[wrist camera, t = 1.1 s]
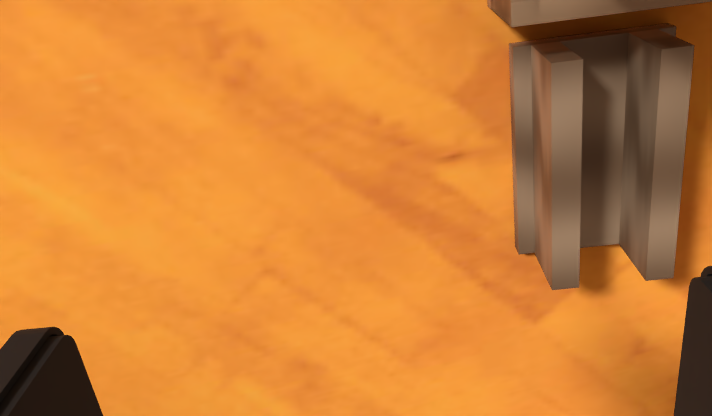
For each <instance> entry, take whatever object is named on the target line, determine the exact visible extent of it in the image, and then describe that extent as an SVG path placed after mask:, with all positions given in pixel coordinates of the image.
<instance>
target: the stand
mask: <svg viewBox="0 0 712 416" xmlns="http://www.w3.org/2000/svg"><path fill="white" fill-rule="evenodd" d="M693 55H694V45H692V44H690V43H688V42H686V41H683V40H681V39H679V38H677V37H676V26H674V25H671V24H669V23H665V24H658V25H650V26H642V27H634V28H626V29H618V30H611V31H603V32H595V33H587V34H579V35H571V36H564V37H556V38H548V39H540V40H532V41H524V42H517V43H509V59H510V91H511V124H512V156H513V189H514V222H515V247H516V249H517V251H518V254H527V253H535V255H536V257H537V259H538V261H539V263H540V266H541V268H542V270H543V272H544V274H545V276H546V278H547V280H548V283H549V285H550V287H551V289H552V290H558V289H568V288H578V287H579V271H580V248H584V247H593V246H603V245H613V244H619V245H620V246H621V247H622V249H623V250H624V252H625V253H626V254H627V256H628V257H629V258H630V260H631V261H632V263H633V264H634V265H635V267H636V268H637V269H638V271H639V272H640V273H641V275H642V276H643V278H644V279H645V280H646V281H648V280H658V279H668V278H673V277H674V266H675V255H676V244H677V233H678V222H679V211H680V200H681V188H682V177H683V166H684V155H685V144H686V133H687V122H688V111H689V99H690V88H691V77H692V66H693Z"/></svg>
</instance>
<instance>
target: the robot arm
mask: <svg viewBox="0 0 712 416" xmlns="http://www.w3.org/2000/svg"><path fill="white" fill-rule="evenodd" d="M0 416H103V414H102V412H101V409H100V406H99V404H98V401H97V398H96V396H95V393H94V390H93V388H92V385H91V382H90V380H89V377H88V374H87V372H86V369H85V366H84V364H83V361H82V358H81V356H80V353H79V351H78V348H77V345H76V343H75V341H74V339H73V338H72V337H71V336H69V335H64V334H63V332H62V331H61V330H60V329H59V328H56V327H47V328H36V329H26V330H19V331H16V332H15V333H14V334H13V335H12V336H11V337H10V338H9V339H8V341H7V342H6V343H5V344H4V345H3V347H2V348H1V349H0ZM674 416H712V266H708V267H706V268H704V270H703V272H702V273H701V277H696V278H693V279H692V280H691V282H690V286H689V293H688V301H687V309H686V318H685V326H684V335H683V343H682V351H681V360H680V368H679V376H678V385H677V393H676V402H675V410H674Z"/></svg>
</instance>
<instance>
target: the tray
mask: <svg viewBox="0 0 712 416" xmlns="http://www.w3.org/2000/svg"><path fill="white" fill-rule="evenodd" d="M711 1H712V0H488V7H489V8H490V9H492V10H493V11H494V12H495V13H496V14H497V15H498V16H499V17H501V18H502V19H503V20H504V21H505V22H506V23H507V24H508V25H510V26H511V27H518V26H525V25H533V24H541V23H549V22H556V21H564V20H572V19H579V18H587V17H595V16H603V15H610V14H618V13H626V12H634V11H641V10H649V9H657V8H664V7H672V6H680V5H688V4H695V3H703V2H711Z"/></svg>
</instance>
